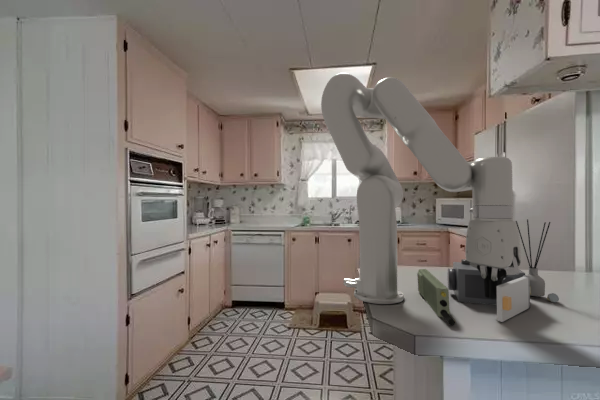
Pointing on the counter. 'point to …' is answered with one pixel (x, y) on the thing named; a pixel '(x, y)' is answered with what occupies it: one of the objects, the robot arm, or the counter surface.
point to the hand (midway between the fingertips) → (493, 297)
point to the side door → (513, 298)
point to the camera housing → (471, 283)
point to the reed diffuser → (535, 280)
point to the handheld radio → (435, 294)
